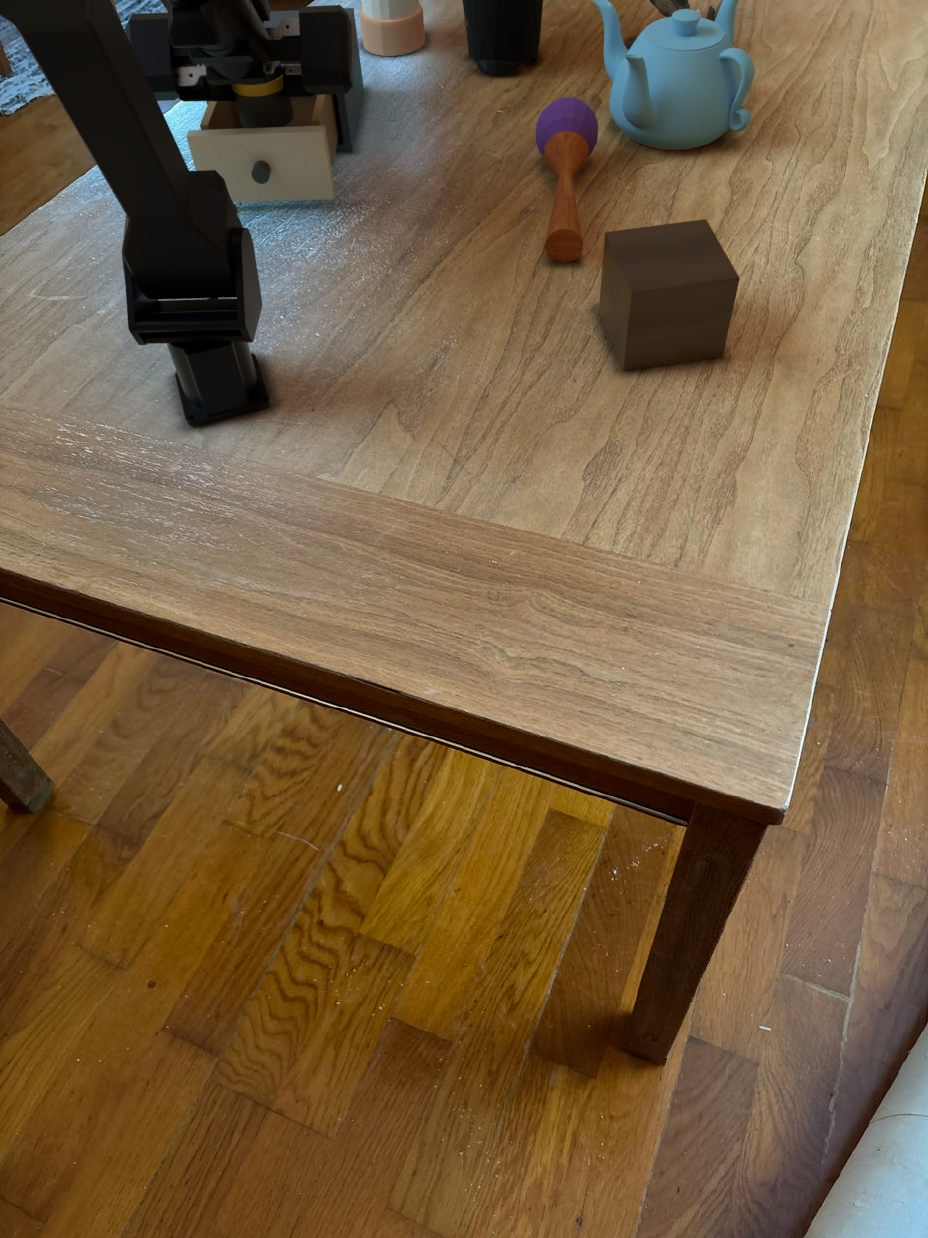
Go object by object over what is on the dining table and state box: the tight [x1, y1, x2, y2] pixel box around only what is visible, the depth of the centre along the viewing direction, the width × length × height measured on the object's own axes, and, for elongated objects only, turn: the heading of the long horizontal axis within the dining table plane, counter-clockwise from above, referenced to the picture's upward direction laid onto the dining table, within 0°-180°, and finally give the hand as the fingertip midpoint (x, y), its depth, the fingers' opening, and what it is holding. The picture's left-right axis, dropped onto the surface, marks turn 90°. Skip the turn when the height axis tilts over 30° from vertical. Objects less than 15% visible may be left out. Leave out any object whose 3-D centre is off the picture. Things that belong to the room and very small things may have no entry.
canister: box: [231, 61, 294, 128], centre depth 86 cm, size 5×5×5 cm
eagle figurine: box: [626, 0, 723, 50], centre depth 103 cm, size 8×7×9 cm
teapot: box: [592, 0, 755, 151], centre depth 91 cm, size 15×15×10 cm
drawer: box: [186, 94, 340, 203], centre depth 89 cm, size 14×12×6 cm
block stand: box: [598, 218, 741, 372], centre depth 73 cm, size 8×8×7 cm
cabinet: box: [205, 7, 365, 154], centre depth 96 cm, size 14×14×8 cm
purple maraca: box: [535, 96, 599, 263], centre depth 86 cm, size 6×6×20 cm
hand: (265, 93), depth 87 cm, fingers closed on canister, 5 cm apart
